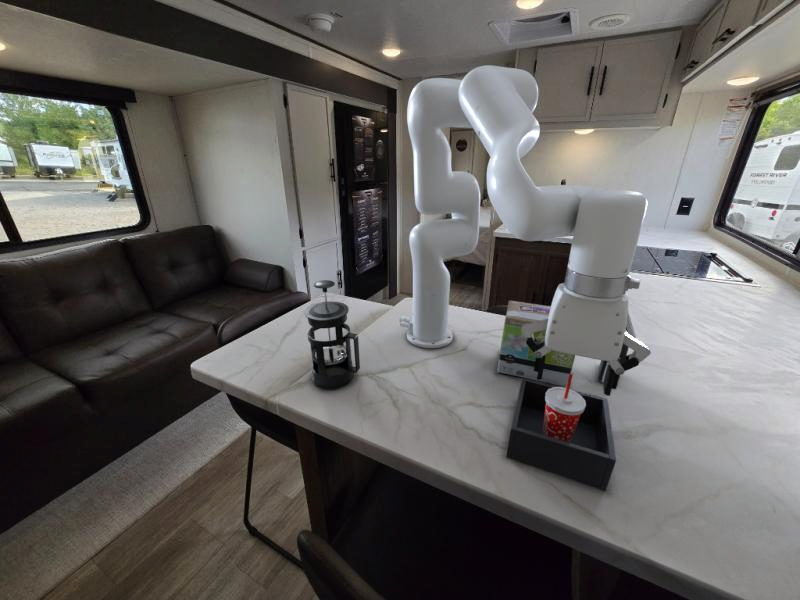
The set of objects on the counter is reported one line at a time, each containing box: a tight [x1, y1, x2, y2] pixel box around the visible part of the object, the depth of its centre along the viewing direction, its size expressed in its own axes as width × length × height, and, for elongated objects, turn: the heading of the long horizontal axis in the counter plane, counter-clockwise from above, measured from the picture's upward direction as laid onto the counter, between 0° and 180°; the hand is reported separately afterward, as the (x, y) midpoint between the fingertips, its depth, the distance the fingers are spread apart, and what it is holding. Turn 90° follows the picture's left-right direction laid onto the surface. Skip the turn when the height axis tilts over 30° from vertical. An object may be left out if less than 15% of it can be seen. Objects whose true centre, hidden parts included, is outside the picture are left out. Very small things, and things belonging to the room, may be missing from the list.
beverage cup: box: [542, 372, 586, 443], centre depth 57 cm, size 6×6×14 cm
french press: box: [304, 279, 361, 391], centre depth 72 cm, size 12×9×23 cm
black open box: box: [505, 377, 617, 492], centre depth 59 cm, size 15×15×6 cm
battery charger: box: [597, 330, 630, 383], centre depth 74 cm, size 7×4×11 cm, turn 149°
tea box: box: [497, 300, 576, 388], centre depth 77 cm, size 15×10×15 cm, turn 70°
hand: (571, 382), depth 54 cm, fingers open, 9 cm apart
